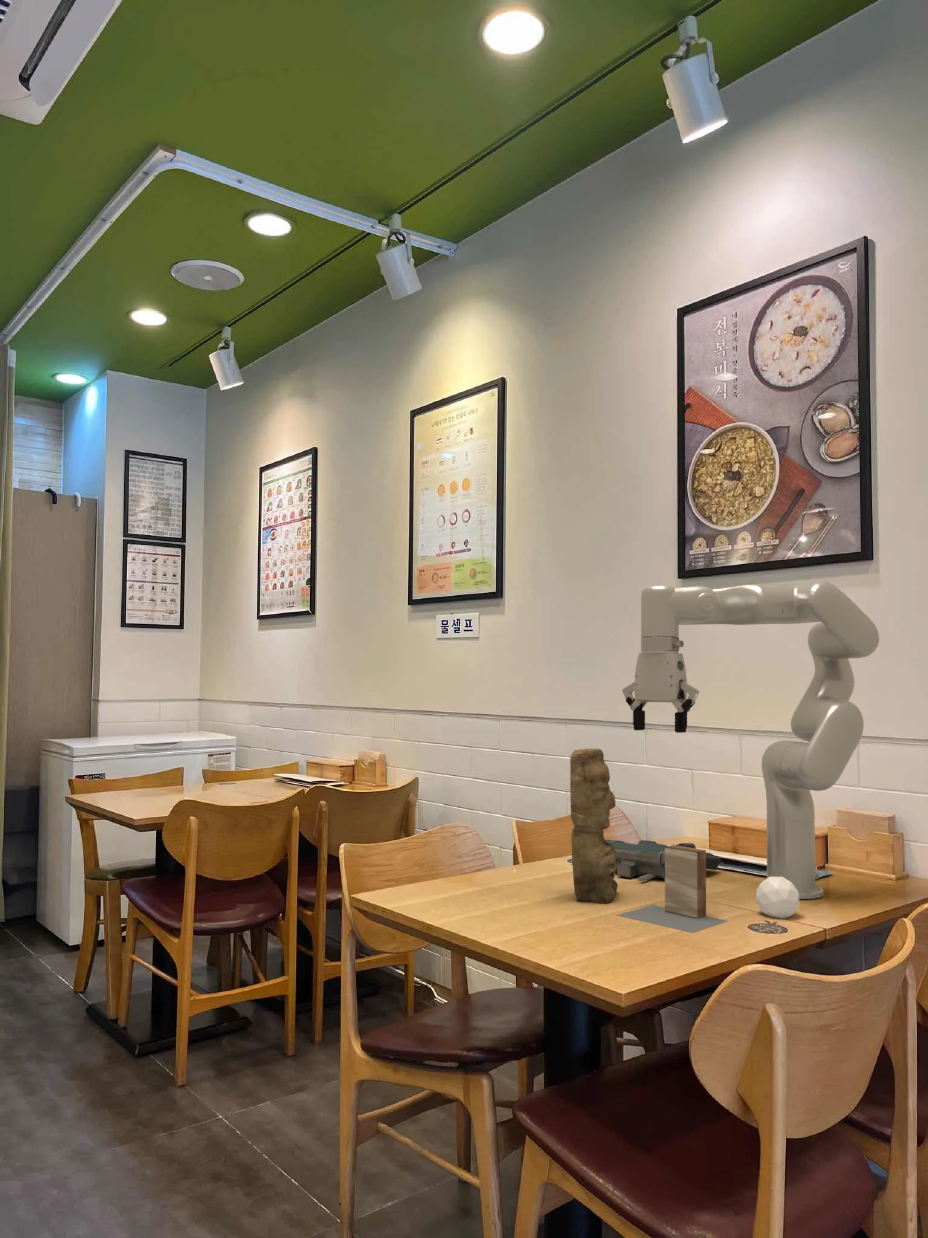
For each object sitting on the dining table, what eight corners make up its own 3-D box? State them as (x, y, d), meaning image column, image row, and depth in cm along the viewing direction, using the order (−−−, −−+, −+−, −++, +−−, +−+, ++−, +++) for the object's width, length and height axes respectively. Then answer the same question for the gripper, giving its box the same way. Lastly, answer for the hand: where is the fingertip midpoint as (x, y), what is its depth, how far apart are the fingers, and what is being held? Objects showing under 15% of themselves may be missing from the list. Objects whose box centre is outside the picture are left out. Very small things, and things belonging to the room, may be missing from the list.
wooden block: (673, 909, 175) (673, 845, 176) (706, 916, 170) (705, 850, 171) (664, 911, 173) (664, 846, 174) (697, 919, 168) (697, 852, 169)
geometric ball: (789, 933, 172) (816, 902, 170) (762, 922, 168) (789, 890, 166) (766, 905, 178) (792, 874, 176) (739, 894, 174) (765, 862, 173)
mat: (653, 908, 178) (653, 904, 178) (728, 924, 167) (728, 920, 167) (616, 918, 170) (616, 915, 170) (692, 936, 159) (692, 932, 159)
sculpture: (616, 908, 178) (616, 751, 180) (568, 905, 180) (569, 750, 182) (618, 894, 190) (618, 747, 192) (573, 891, 192) (574, 746, 194)
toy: (731, 849, 220) (685, 849, 196) (729, 886, 219) (681, 890, 195) (626, 833, 236) (571, 831, 212) (623, 867, 234) (567, 869, 210)
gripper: (707, 646, 184) (707, 733, 183) (634, 648, 196) (634, 728, 195) (687, 645, 179) (687, 734, 178) (613, 646, 191) (613, 729, 190)
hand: (659, 731), depth 186 cm, fingers open, 9 cm apart
